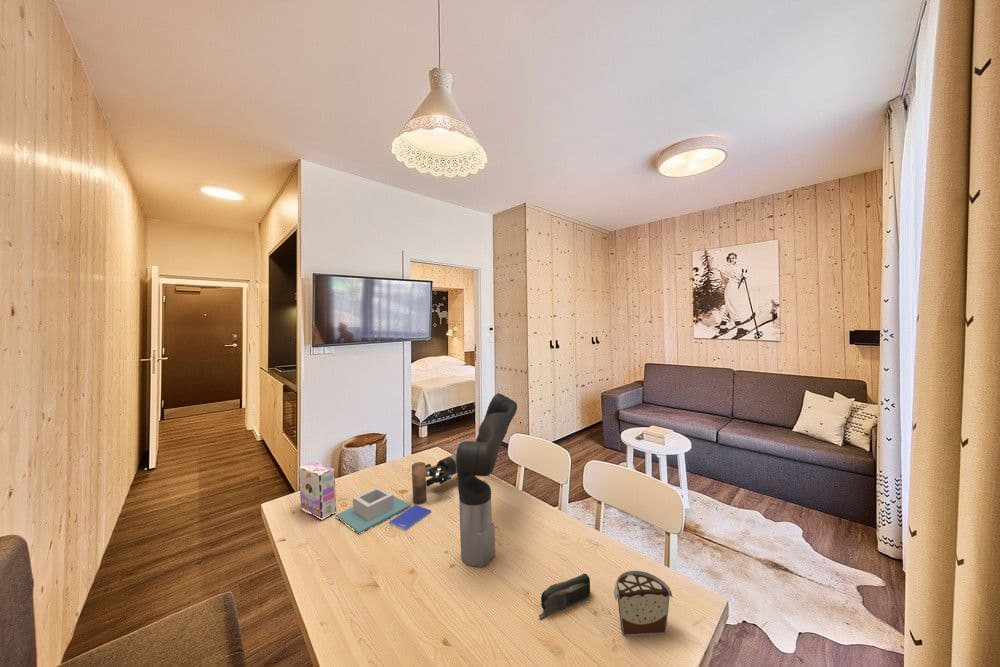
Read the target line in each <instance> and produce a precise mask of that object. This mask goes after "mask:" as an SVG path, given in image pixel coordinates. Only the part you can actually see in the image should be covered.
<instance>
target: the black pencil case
mask: <svg viewBox="0 0 1000 667" xmlns="http://www.w3.org/2000/svg"><path fill="white" fill-rule="evenodd" d="M590 595H591V579H590V576H589V574H587V573H582V574H581V575H578V576H576V577H572V578H570V579H568V580H566V581H565V580H564V581H561V582H557V583H554V584H552V585H549V587H547V588H546V589H545V590H544V591H543V592H542V593H541V597H540V605H541V607H542V610H543V612H542V613H541V614H539V615H538V618H539V619H540V620H541V619H543V618H544V617H546V616H549V615H550V614H553V613H556V612H558V611H561V610H562V609H566V608H567V607H569V606H572V605H574V604H577V603H579V602H582V601H584V600H587V599H588V598H589V597H590Z"/></svg>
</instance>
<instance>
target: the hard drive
mask: <svg viewBox="0 0 1000 667" xmlns="http://www.w3.org/2000/svg"><path fill="white" fill-rule="evenodd" d="M430 514H432V510H431V509H429V508H426V507H423V506H420V505H419V504H414V505H413V506H411V508H409V509H407V510H405V511H403V512H401V513H399V514H398V515H396V517H395V516H394V518H391V519H390V520H389V521H388V524H390V525H389V526H391V525H392V527H393V526H395V527H396V529H398V528H399V529H398V530H400V529H401V531H403V532H405V531H406V532H407V531H409V530H410V529H412V528H413V527H414V526H415V525H417V524H418V523H419V522H421V521H422V520H424V519H425V518H426V517H428V516H429V515H430ZM395 527H394V528H395Z"/></svg>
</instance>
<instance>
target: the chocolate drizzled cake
mask: <svg viewBox="0 0 1000 667" xmlns="http://www.w3.org/2000/svg"><path fill="white" fill-rule="evenodd" d="M613 594H614V599H615V601H617V603H618V605H617V606H618V612H619V622H620V630H621V634H622V637H633V636H649V635H666V634H667V626H668V625H667V624H668V616H669V607H670V597H671V599H672V598H673V593H672V590H671V588H670V586H669V585H668V584H667V583H666V582H665V581H664V580H662V579H661V578H659V577H658V576H656V575H654V574H652V573H649V572H647V571H642V570H629V571H625V572H623V573H621V574H620V575H619V576H618V578H617V580H616V581H615V585H614V589H613Z"/></svg>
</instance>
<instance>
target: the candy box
mask: <svg viewBox="0 0 1000 667" xmlns="http://www.w3.org/2000/svg"><path fill="white" fill-rule="evenodd" d="M298 475H299V476H298V477H299V479H298V481H299V492H300V495H299V496H300V508H301V507H302V508H304V509H305V510H307V511H309V512H311V513H312V514H314V515H316V516H318V517H320V518H323V517H326V516H328V515H330V514H332V513H334V512H336V513H337V501H336V499H337V498H336V481H335V480H336V478H335V477H336V475H335V468H331V467H330V466H326V465H323V464H320V463H318V462H315V461H311V462H310V463H307V464H304V465H301V466H299V467H298Z"/></svg>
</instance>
